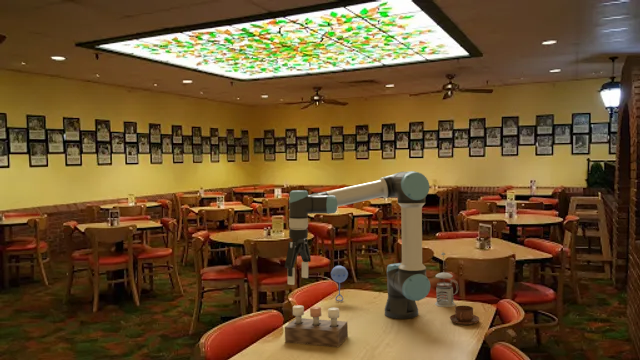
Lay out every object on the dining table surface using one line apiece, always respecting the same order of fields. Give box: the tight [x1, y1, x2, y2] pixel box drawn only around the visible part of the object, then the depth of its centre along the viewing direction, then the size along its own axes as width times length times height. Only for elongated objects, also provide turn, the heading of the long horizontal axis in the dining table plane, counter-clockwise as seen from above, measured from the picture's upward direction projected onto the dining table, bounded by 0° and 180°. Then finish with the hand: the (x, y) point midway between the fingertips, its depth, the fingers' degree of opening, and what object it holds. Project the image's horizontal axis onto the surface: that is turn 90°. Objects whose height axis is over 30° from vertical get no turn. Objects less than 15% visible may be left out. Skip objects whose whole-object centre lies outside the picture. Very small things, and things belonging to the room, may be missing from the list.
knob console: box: [284, 318, 349, 348], centre depth 194 cm, size 22×12×6 cm, turn 70°
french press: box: [434, 252, 459, 308], centre depth 234 cm, size 10×12×25 cm
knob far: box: [292, 305, 305, 324], centre depth 196 cm, size 4×4×7 cm
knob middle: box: [309, 305, 322, 326], centre depth 194 cm, size 4×4×7 cm
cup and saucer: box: [449, 305, 480, 325], centre depth 208 cm, size 12×12×6 cm
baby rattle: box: [330, 265, 349, 302], centre depth 248 cm, size 9×9×18 cm
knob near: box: [327, 307, 340, 327], centre depth 191 cm, size 4×4×7 cm
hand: (298, 281), depth 198 cm, fingers open, 13 cm apart
